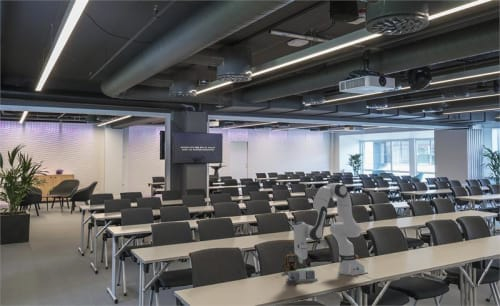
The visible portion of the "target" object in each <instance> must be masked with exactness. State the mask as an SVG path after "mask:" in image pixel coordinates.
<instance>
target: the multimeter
mask: <svg viewBox="0 0 500 306" xmlns="http://www.w3.org/2000/svg"><path fill="white" fill-rule="evenodd" d="M286 248H287V246H285V247H284V249H283V252H282V253H284V252H285V249H286ZM292 248H294V245H292V246H291V247H290V252H289V254H286V256H285V264H283V268H285V267H286V271H287V272H285V274H288V271H297V265H298V269H301V268H300V266H299V264H297V263H299V260H298V259H297V258H298V256H297V255H296V254H295V253H294V254H293V250H292ZM285 265H286V266H285Z"/></svg>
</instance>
